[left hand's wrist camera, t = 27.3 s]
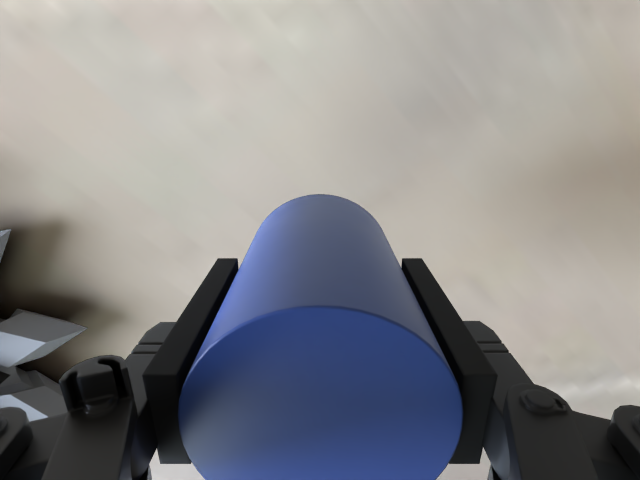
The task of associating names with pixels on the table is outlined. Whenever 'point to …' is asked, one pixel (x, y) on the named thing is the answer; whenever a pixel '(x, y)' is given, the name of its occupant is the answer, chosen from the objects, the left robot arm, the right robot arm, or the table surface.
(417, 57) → the table surface
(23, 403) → the decorative piece
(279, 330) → the canister
